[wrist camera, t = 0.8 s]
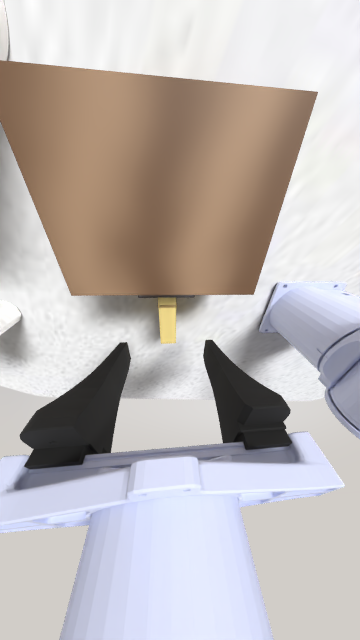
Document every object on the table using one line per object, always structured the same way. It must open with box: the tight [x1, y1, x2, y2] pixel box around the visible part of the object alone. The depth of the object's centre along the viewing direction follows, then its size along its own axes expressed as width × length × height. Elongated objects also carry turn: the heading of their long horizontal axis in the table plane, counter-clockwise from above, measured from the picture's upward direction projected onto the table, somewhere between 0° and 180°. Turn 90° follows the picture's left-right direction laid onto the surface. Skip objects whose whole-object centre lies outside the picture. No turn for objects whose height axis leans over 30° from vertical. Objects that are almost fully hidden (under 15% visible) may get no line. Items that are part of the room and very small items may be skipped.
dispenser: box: [0, 60, 318, 298], centre depth 11 cm, size 13×10×8 cm
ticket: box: [158, 298, 177, 344], centre depth 14 cm, size 2×14×6 cm, turn 178°
